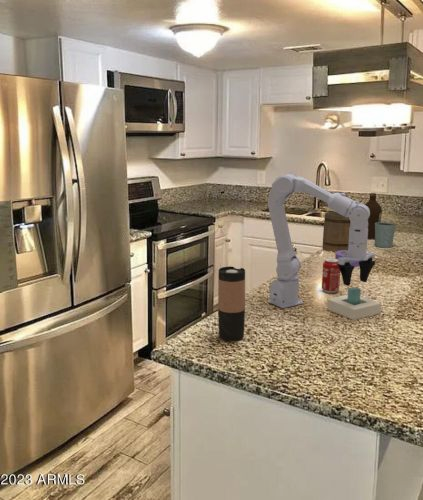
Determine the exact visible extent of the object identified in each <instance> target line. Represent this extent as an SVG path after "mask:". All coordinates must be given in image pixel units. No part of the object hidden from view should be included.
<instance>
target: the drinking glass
mask: <svg viewBox="0 0 423 500" xmlns="http://www.w3.org/2000/svg"><path fill="white" fill-rule="evenodd" d="M396 226H397V224H396V223H394V222H385V221H381V222H377V223H375V239H374V247H375V248H379V249H391V248H392V247H393V243H394V238H395V233H396V228H397V227H396Z"/></svg>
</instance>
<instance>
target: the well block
mask: <svg viewBox="0 0 423 500" xmlns="http://www.w3.org/2000/svg"><path fill="white" fill-rule="evenodd" d="M347 298H348V294H345V295H340V296H335V297H331V298H327V302H326V303H327V304H326V310H328V311H331V312H333V313H336V314H338V315H340V316H342V317H345V318H348V319H350V320H352V321H356V320H357V321H358V320H362V319H364V318H369V317H372V316H376V315H380V314H381V309H382V302H379V301H377V300H374V299H371V298H368V297H365V296H361V295H360V304H358V305H352V304H350V303H347Z"/></svg>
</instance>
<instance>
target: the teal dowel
mask: <svg viewBox="0 0 423 500" xmlns="http://www.w3.org/2000/svg"><path fill="white" fill-rule="evenodd" d="M361 290H362V289H361V288H359V287H354V286H353V287H348V288H347V295H348V298H347V303H350V304H352V305H358V304H360V296H361V292H362V291H361Z"/></svg>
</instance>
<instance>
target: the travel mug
mask: <svg viewBox="0 0 423 500" xmlns="http://www.w3.org/2000/svg"><path fill="white" fill-rule="evenodd" d="M217 278H218V280H217V281H218V284H217V286H218V287H217V288H218V289H217V290H218V291H217V294H218V297H217V300H218V302H217V311H218V312H217V314H218V315H217V317H218V336H219V337H218V338H219V339H220V340H222V341H225V342H238V341H239V342H240V341H241V340H243V339H244V335H245V319H246V318H245V316H246V314H245V313H246V269H245V268H244V267H240V268H236V267H234V266H231V265H230V266H224V267H220V268H219V269H218V277H217Z"/></svg>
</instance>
